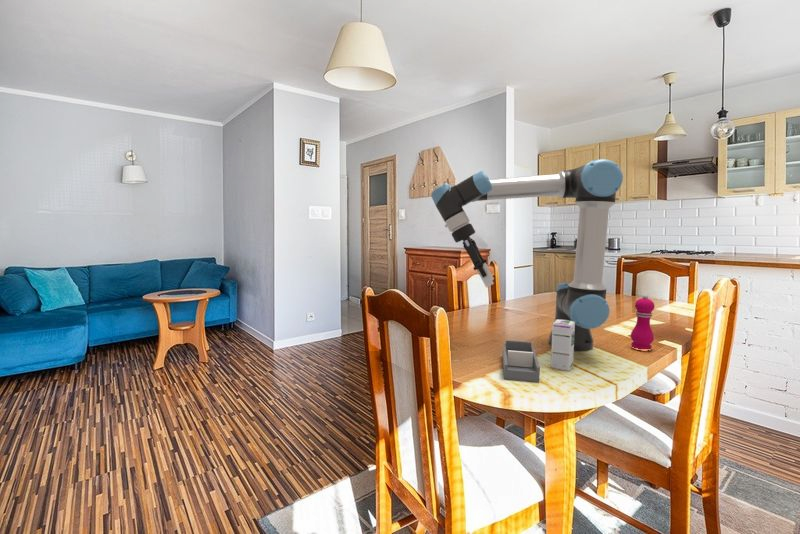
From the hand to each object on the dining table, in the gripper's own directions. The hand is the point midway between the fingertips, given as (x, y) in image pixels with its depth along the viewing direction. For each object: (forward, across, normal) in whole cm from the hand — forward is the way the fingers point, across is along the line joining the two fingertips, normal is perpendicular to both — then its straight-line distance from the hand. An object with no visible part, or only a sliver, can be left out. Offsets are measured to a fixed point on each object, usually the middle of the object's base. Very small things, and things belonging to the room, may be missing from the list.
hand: (490, 283), depth 137 cm
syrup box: (+33, +7, +7) cm, 34 cm away
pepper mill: (+48, -20, +34) cm, 62 cm away
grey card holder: (+26, +12, -4) cm, 29 cm away
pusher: (+25, +10, -3) cm, 27 cm away
